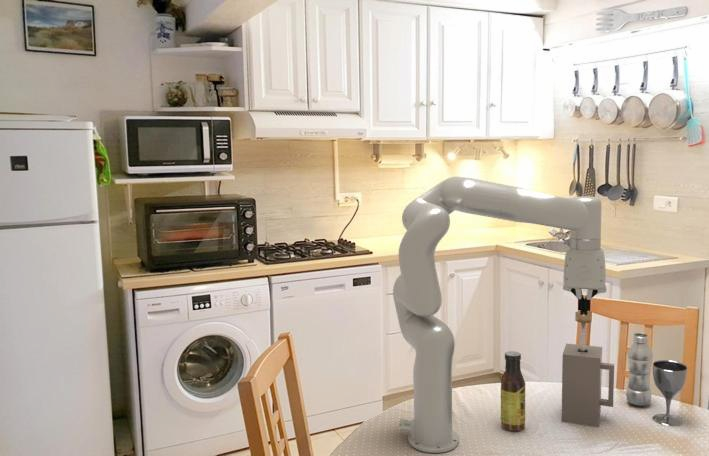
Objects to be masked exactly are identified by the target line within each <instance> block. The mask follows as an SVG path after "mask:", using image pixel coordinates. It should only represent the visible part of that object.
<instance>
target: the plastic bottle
mask: <svg viewBox="0 0 709 456" xmlns="http://www.w3.org/2000/svg"><path fill="white" fill-rule="evenodd" d="M632 341H633V343H632V345H631V346H630V347H629V348H628V350H627V358H628V372H629V373H628V382H627V383H628V384H627V388H626V391H625V392H626V393H625V396H626V400H627V401H628V403H629V404H631V405H632V406H637V407H646V406H648V405H649V404H650V403H651V402H652V400H651V399H652V390H651V378H650V377H651V368H652V365H653V364H652V363H653V358H654V353H653V350H652V348H651V347H650V346H649V345H648V343H649V335H648V334H646V333H643V332H641V333H640V332H637V333H634V334H633V340H632Z"/></svg>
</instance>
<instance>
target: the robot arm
mask: <svg viewBox="0 0 709 456" xmlns="http://www.w3.org/2000/svg"><path fill="white" fill-rule="evenodd" d="M455 211H456V212H460V213H464V214H465V213H466V214H470V215H474V216H481V217H487V218H492V219H493V218H494V219H498V220H503V221H510V222H515V223H520V224H521V223H523V224H525V223H526V224H533V225H539V226H544V227H545V226H546V227H551V228H557V229H561V230H567V231H569V238H566V239H565V238H564V240H563V245H566V246H568V247H569V248H566V250H565V255H564V262H563V263H564V264H563V286H562V290H563V291H566V292H570V293H572V294H573V296H574V297H576V299H577V311H580V314H583V313H584V314H585V315H587V312H591V300H592V299H593V298H594V297H595V296H596V295H598V294H604V293H607V286H606V282H607V281H606V277H607V274H606V271H607V269H606V268H607V267H606V259H605V258H606V257H605V253H604V250H603V248H602V247H601V246H602V243H601V242H602V241H601V240H602V239H601V238H602V235H601V234H602V200H601V199H600V198H599V197H597V196H588V195H587V196H586V195H584V196H582V195H581V196H576V197H575V196H574V197H562V196H557V195H552V194H547V193H542V192H537V191H534V190H531V189H526V188H523V187H518V186H515V185H508V184H501V183H497V182H492V181H487V180H482V179H478V178H477V179H476V178H472V177H464V176H463V177H462V176H450V177H448V178H446V179H444V180H442V181H441V182H439V183H438V184H436V185H435V186H433V187H432V188H430V189H428V190H427V191H426V192H424V193H422V194H420V195H419V196H418V197H416V198H415V199H414V200H412V201H410V202H409V203H408V204H407V205H406V206H405V208H404V210H403V211H402V216H401V222H402V225H403V227H404V228H405V230H406V232H405V233H404V235H403V237H402V239H401V241H400V244H399V246H398V247H399V248H398V262H399V263H398V264H399V269H400V275H399V276H397V278H396V279H395V281H394V284H393V286H392V287H393V288H392V296H393V301H394V306H395V311H396V315H397V320H398V325H399V330H400V331H401V334H402V337H403V339H404V340H405V341H406V343H408V345H409V346H411V347H412V348H413V349H414V350H415V358H414V363H413V370H412V372H413V376H412V379H413V381H412V383H413V416H414V417H413V419H411V420H408V419H405V418H399V422H398V423H399V424H398V426H399V427H400V431H404V432H409V433H408V443H409V445H410V446H411V447H413V448H414V449H415V450H417V451H421V452H424V453H430V454H431V453H432V454H434V453H435V454H440V453H446V452H450V451H452V450H453V449H455V448H457V447H458V446H459V442H460V438H459V437H460V436H459V435H458V433H457V432H456V431H454V430H453V375H452V374H453V360H454V353H455V347H456V341H455V337H454V334H453V332H452V330H451V328H450V327H449V326H448V325H447V324H446V323H445V322H443V321H442V320H441V319H439V318H438V317H436V316H435V314H437V313H438V312H439V311H440V309H441V307H442V303H443V301H442V300H443V297H442V292H441V287H440V283H439V277H438V272H437V268H436V260H435V253H436V248H437V246H438V244H439V243H440V242H441V240H442V239H443V238H444V237H445V235H447V233H448V231H449V228H450V225H451V218H450V215H451V214H452V213H454V212H455ZM582 289H583V290H586V291H587V292H586V295H585V296H584V295H583V290H582Z"/></svg>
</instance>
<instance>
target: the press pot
mask: <svg viewBox="0 0 709 456" xmlns="http://www.w3.org/2000/svg"><path fill="white" fill-rule="evenodd" d="M561 362H562V363H561V364H562V369H561V422H563V423H569V424H575V425H581V426H582V425H583V426H588V427H594V428H599V426H600V421H601V420H600V419H601V412H602V411H601V410H602V409H601V408H602V406H604V407H611V408H613V407H614V396H615V395H614V392H615V390H614V387H615V386H614V385H615V363H610V362H603V346H597V345H595V346H594V345H586V344H585V352H580V344H575V343H567V342H566V343H565V346H564V349H563V351H562V361H561ZM602 370H607V371H608V393H607V396H608V397H607V398H608V399H607V398H602V375H603V374H602Z"/></svg>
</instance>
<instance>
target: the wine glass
mask: <svg viewBox="0 0 709 456" xmlns="http://www.w3.org/2000/svg"><path fill="white" fill-rule="evenodd" d="M652 363H653V364H652V376H653V377H652V378H653V382H654V384H655V386H656V388H657V389H658V390H659V392H660V393H661V394H662V395H663V398H664V399H665V405H666V406H665V408H666V411H665V413H657V414H655V415H653V416H652V419H653V421H654V422H656V423H657V424H660V425H663V426H667V427H678V426H681V425H683V423H684V421H683V420H682V419H681V418H680V417H679V416H676V415H673V414H670V411H671V404H672V400H673V398H674V397H675V396H677V394H679V393H680V392H682V390H683V389H684V387H685V384H686V380H687V376H688V366H687V365H685V364H684V363H681V362H679V361H675V360H667V359H662V360H661V359H660V360H656V361H654V362H652Z"/></svg>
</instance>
